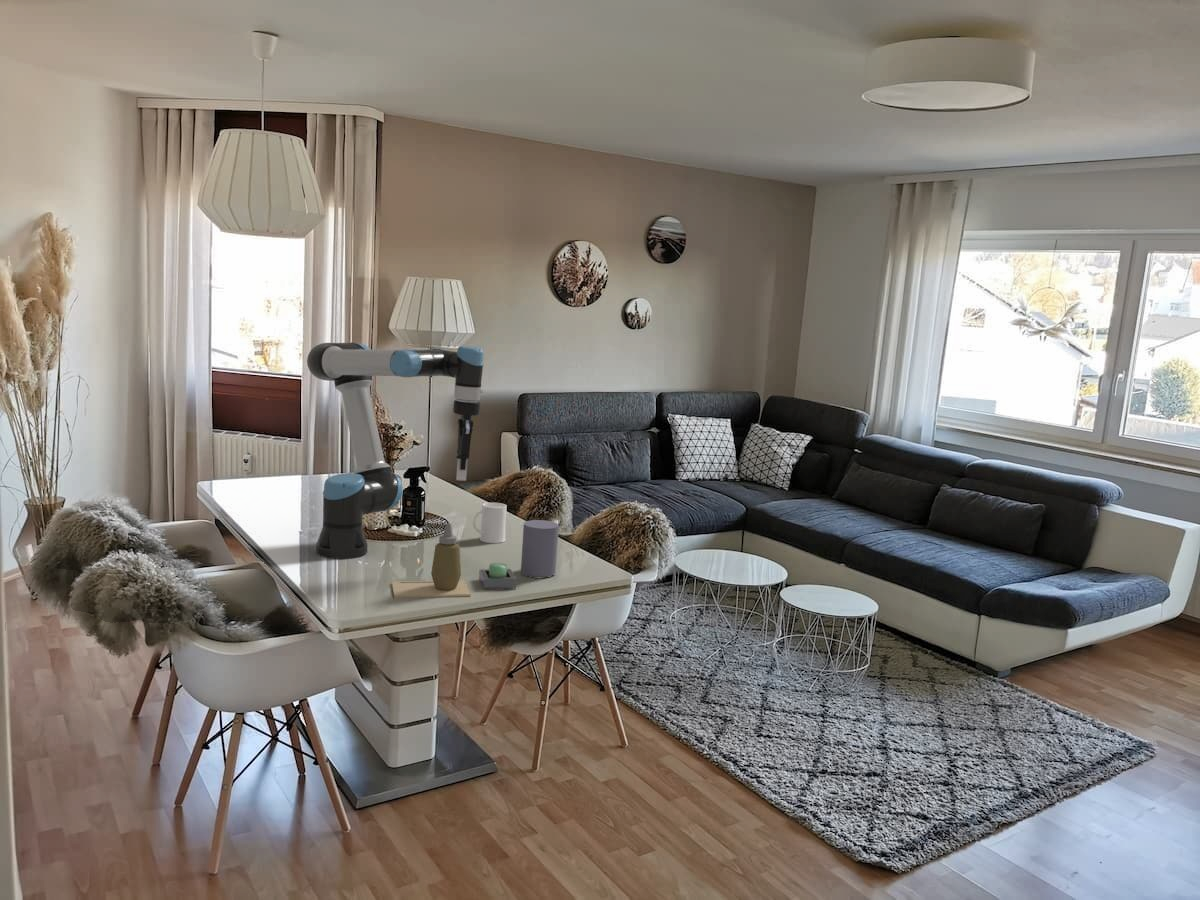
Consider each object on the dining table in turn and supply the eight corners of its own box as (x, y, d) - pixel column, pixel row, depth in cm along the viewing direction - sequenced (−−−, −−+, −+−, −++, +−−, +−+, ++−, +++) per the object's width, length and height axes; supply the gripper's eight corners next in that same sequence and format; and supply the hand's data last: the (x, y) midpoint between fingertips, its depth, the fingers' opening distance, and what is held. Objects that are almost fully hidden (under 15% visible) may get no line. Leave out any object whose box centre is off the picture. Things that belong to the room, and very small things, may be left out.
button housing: (483, 589, 251) (484, 579, 251) (478, 579, 260) (479, 569, 259) (515, 589, 254) (516, 578, 253) (509, 579, 262) (510, 569, 262)
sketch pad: (394, 597, 239) (394, 595, 239) (391, 583, 250) (391, 581, 250) (470, 596, 245) (470, 594, 245) (464, 582, 256) (464, 580, 256)
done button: (489, 585, 254) (490, 568, 253) (487, 579, 258) (488, 562, 258) (507, 585, 255) (508, 567, 254) (504, 579, 260) (505, 562, 259)
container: (520, 567, 275) (523, 519, 273) (555, 569, 276) (558, 521, 273) (520, 577, 265) (523, 527, 262) (555, 579, 266) (559, 529, 263)
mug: (476, 545, 296) (478, 509, 294) (466, 538, 303) (468, 503, 301) (509, 542, 302) (511, 507, 300) (498, 536, 309) (500, 501, 308)
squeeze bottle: (431, 582, 252) (434, 519, 250) (461, 583, 253) (464, 520, 250) (429, 591, 244) (432, 526, 242) (459, 592, 245) (462, 528, 242)
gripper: (483, 404, 258) (476, 485, 262) (477, 398, 270) (471, 475, 274) (456, 402, 256) (450, 484, 260) (451, 396, 268) (446, 474, 272)
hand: (461, 479), depth 267 cm, fingers closed
